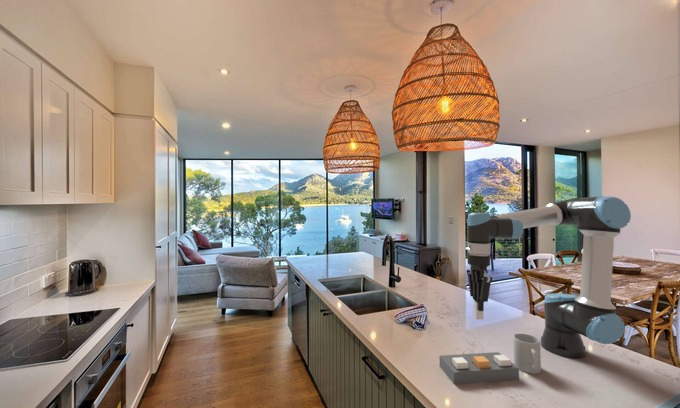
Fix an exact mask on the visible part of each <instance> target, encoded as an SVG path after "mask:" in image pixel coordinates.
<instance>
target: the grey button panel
mask: <svg viewBox="0 0 680 408" xmlns="http://www.w3.org/2000/svg"><path fill="white" fill-rule="evenodd" d="M474 356H484V357H485V358H486V359H487V360H489V364H490V368H485V369H478V368H477V367H476V366H475V365H474V364H473V357H474ZM438 359H439V367H440V369H441V370H442V371H443V372H444V373H445V374H446V376H447V377H448V379H449V380H450V381H451V382H452V384H454V385H458V384H460V385H461V384H475V383H487V382H502V381H503V382H504V381H518V380H520V370H519V368H518V367H517V366H516V365H514V362H511V359H510V358H509V357H507V355H505V354H502V353H500V352H498V351H496V352H495V351H494V352H482V353H481V352H480V353H479V352H478V353H462V354H445V355H444V354H443V355H439V358H438Z"/></svg>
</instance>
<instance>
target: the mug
mask: <svg viewBox="0 0 680 408" xmlns="http://www.w3.org/2000/svg"><path fill="white" fill-rule="evenodd" d="M541 359H542V357H541V339H539V338H538V337H535V336H533V335H532V334H531V335H530V334H526V333H515V334H514V335H513V364H514V365H516V366H517V367H518V368H519V371H521V372H523V373H527V374H530V375H531V374H532V375H535V374H536V375H537V374H540V373H541V371H542V362H541Z"/></svg>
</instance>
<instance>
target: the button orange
mask: <svg viewBox="0 0 680 408" xmlns="http://www.w3.org/2000/svg"><path fill="white" fill-rule="evenodd" d="M473 364H474V365H475V366H476V367H477V368H478V369H485V368H490V364H489V360H487V359H486V358H485V357H484V356H474V357H473Z"/></svg>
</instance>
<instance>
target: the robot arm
mask: <svg viewBox="0 0 680 408" xmlns="http://www.w3.org/2000/svg"><path fill="white" fill-rule="evenodd" d="M631 216H632V215H631V209H630V208H629V206H628V204H627V203H625V201H623V200H622V199H621V198H619V197H615V196H603V195H602V196H590V197H574V198H573V197H572V198H569V199H565V200H560V201H556V202H551V203H548V204H546V205H544V206H543V207H536V208H530V209H524V210H520V211H513V212H507V213H502V214H501V213H499V214H494V215H491V214H490V213H489V212H470V213H468V214H467V222H466V223H467V224H466V225H467V246H466V247H467V253H468V254H467V264H468V265H470V267H469V268H470V269H466V274H467V278H468V286H469V287H468V288H469V296H470V297H472V299H473V317H474V319H475V320H484V311H485V309H484V308H485V306H484V303H485V302H486V303H488V302H489V297H490V289H491V283H492V281H493V276H489V274H488V273H489V271H488V267H490V265H491V256H490V255H491V239H508V240H509V239H510V240H511V239H518V238H520V237H521V236H522V235H523V234H524V229H529V228H534V227H540V226H546V225H550V226H554V227H556V226H562V225H565V226H578V231H579V232H580V233H581V234H582V235H583V239H582V240H583V242H582V258H581V260H582V261H581V272H580V273H581V275H580V276H581V277H580V292H579V296H577V295H575V294H569V293H553V292H552V293H547V294H545V296H544V302H543V305H544V330H543V333H542V335H541V337H540V346H541V347H542V348H544V349H545V350H546V351H548V352H551V353H552V354H556V355H558V356H562V357H566V358H572V359H574V358H575V359H577V358H579V359H580V358H584V357H586V356H587V350H586V346H585V345H584V341H583V339H582V336H584V337H586V338H587V339H589V340H591V341H594V342H597V343H599V344H603V345H610V344H614V343H616V342H617V341H618V340H620V339H621V338H622V336H623V335H624V332H625V321H624V320H623V319H622V318H621V317H620V316H619V315H617V312H616V309H617V307H616V306H615V305H614V304H613V303H612V301H611V298H612V281H613V278H612V277H613V265H614V264H613V261H614V247H615V246H614V243H615V237H617V236H618V235H621V229H623V228H625V227H627V225H628V224H629V223H630V221H631V218H632V217H631ZM581 335H582V336H581Z"/></svg>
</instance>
